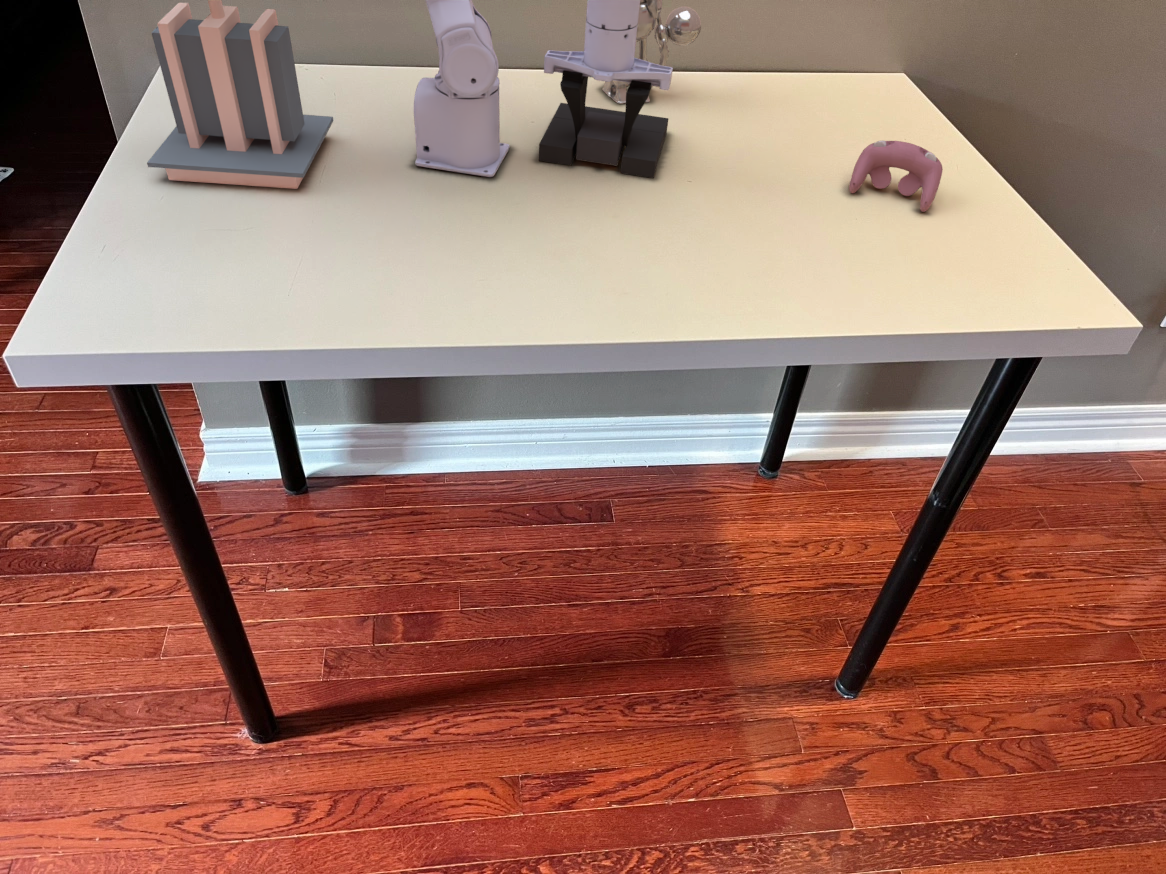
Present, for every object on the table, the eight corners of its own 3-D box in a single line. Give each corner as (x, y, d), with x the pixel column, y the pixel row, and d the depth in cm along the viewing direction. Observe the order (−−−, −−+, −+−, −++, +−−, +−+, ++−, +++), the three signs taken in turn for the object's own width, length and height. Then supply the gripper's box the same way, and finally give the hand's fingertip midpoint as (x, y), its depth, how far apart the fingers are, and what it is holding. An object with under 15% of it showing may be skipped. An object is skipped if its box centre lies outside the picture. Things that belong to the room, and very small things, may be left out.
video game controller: (928, 213, 105) (950, 154, 103) (929, 213, 101) (952, 151, 99) (847, 192, 108) (867, 133, 106) (844, 191, 104) (865, 130, 102)
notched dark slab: (538, 161, 106) (539, 143, 104) (559, 119, 114) (560, 102, 113) (653, 178, 104) (655, 161, 103) (666, 134, 113) (668, 118, 111)
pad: (575, 159, 105) (577, 135, 103) (587, 134, 110) (588, 111, 108) (617, 166, 104) (619, 142, 102) (626, 140, 109) (628, 116, 107)
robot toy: (682, 82, 125) (698, -32, 114) (697, 101, 121) (715, -16, 110) (582, 87, 122) (589, -30, 111) (594, 106, 117) (602, -14, 107)
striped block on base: (342, 137, 107) (298, -188, 84) (313, 195, 97) (254, -157, 74) (190, 126, 107) (105, -204, 84) (146, 183, 96) (34, -174, 74)
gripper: (539, 24, 94) (536, 144, 104) (672, 43, 93) (657, 162, 103) (553, 3, 99) (549, 119, 109) (680, 20, 98) (665, 136, 108)
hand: (602, 138), depth 106 cm, fingers closed on pad, 5 cm apart
